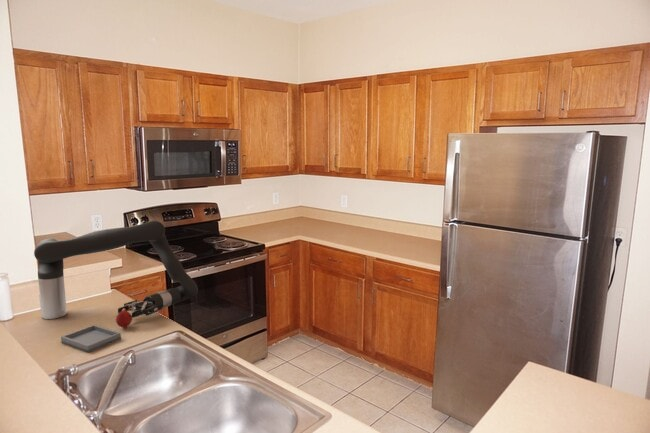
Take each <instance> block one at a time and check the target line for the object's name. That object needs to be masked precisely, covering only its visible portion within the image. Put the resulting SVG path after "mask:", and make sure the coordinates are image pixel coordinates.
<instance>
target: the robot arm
mask: <svg viewBox="0 0 650 433" xmlns="http://www.w3.org/2000/svg"><path fill="white" fill-rule="evenodd" d="M165 233H166V228H165V225H164V224H163V223H162V222H161V221H158V220H151V221H147V222H144V223H141V224H135V225H132V226H126V227H125V226H124V227H116V228H108V229H107V228H106V229H101V230H97V231H96V230H95V231H92V232H89V233H85V234H82V235H79V236H76V237H74V238H70V239H64V240H57V239H55V238H52V237H51V238H45V239H42V240H40V241H39V242H38V244H37V245H35V246H36V247H35V248H34V252H33V255H34V257H35V259H36V260H37V279H38V280H37V281H38V290H39V295H38V296H39V304H40V316H41V318H42V319H44V320H52V319H53V320H55V319H58V318H62V317H65V316H66V315H67V314H68V310H67V299H66V288H65V277H64V259H67V258H70V257H75V256H82V255H90V254H94V253H95V254H96V253H102V252H106V251H111V250H115V249H119V248H122V247H125V246H128V245H131V244H134V243H141V242H149V243H150V244H151V245H152V247H153V248H154V250H155V252H156V253H157V255H158V256H159V258H160V260H161V262H162V264H163V266H164V268H165V270H166V273H167V274H168V276H169V278H170V279H171V281H172V282H174V283H179V284H180V286H177V287H173V288H168V289H166V290H161V291H157V292H155V293H152V294H149V295H147V296H145V297H144V299H143V300H139V301H138V300H137V299H135V300H131V301H128V302H125V303H123V306H120V307H118V308H117V314H119V313H120V312H121V311H122V310H123V309H126V311H127V312H130V311H131V316H132V319H133V318H137V317H139V316H145V317H146V316H151V315H152V314H155V313H157V312H158V311H160V310H161V311H162V310H164V309H166V308H167V307H170V306H172V305H175V304H177V303H181V302H183V301H186V300H189V299H191V298H193V297H195V296H197V295H198V292H199V289H198V288H199V287H198V285H197V283H196V281H195V280H194V279H193V278H192V277H191V276H190V275H189V274H188V273H187V272H186V270H185V268H184V267H183V264H182V263H181V261H180V259H179V258H178V256H177V255H176V253H175V252H174V251H173V249H172V247H171V245H170V244H169V241H168V239H167V237H166V234H165Z"/></svg>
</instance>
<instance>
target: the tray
mask: <svg viewBox="0 0 650 433" xmlns="http://www.w3.org/2000/svg"><path fill="white" fill-rule="evenodd" d="M121 339H122V335H121V332H119V331H116V330H112V329H109V328H106V327H104V326H103V327H102V326H100V325H96V324H92V325H89V326H86V327H84V328H81V329H78V330H76V331H74V332H73V331H72V332H70V333H67V334H64V335H62V336H61V337H60V343H61V344H62V345H64V346H69V347H71V348H73V349H77V350H79V351H83V352H84V353H88V354H89V353H92V352H94V351H96V350H98V349H102V348H104V347H106V346H108V345H111V344H113V343H115V342H117V341H120V340H121Z"/></svg>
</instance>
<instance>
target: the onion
mask: <svg viewBox="0 0 650 433" xmlns="http://www.w3.org/2000/svg"><path fill="white" fill-rule="evenodd" d="M132 321H133V317H132V313H130V311H126V309H123V310H122V311H121V312H120V313H117V315H116V317H115V322H116V325H117V326H118V327H121V328H122V329H126V328H127V327H129V325H131V323H132Z"/></svg>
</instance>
